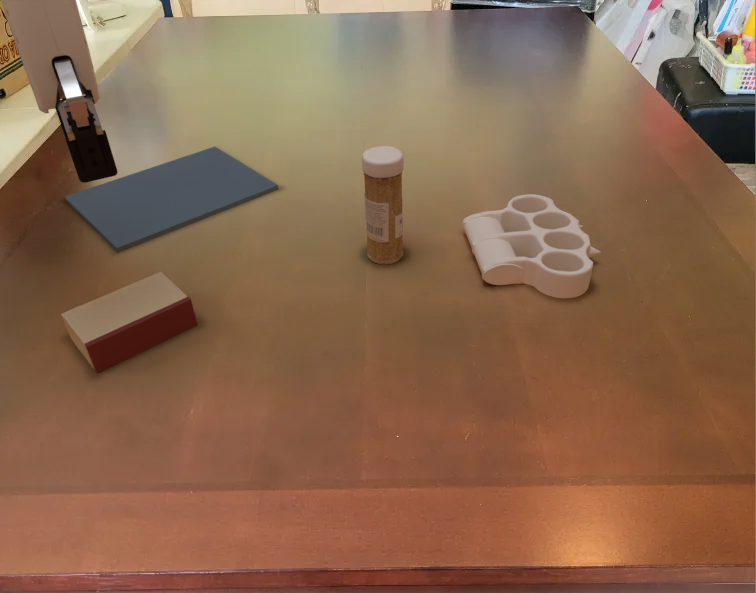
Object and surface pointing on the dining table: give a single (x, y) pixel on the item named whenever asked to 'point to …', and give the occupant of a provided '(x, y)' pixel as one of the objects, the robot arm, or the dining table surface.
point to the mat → (168, 197)
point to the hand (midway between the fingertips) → (91, 157)
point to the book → (129, 321)
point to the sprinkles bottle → (383, 203)
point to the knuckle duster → (532, 247)
